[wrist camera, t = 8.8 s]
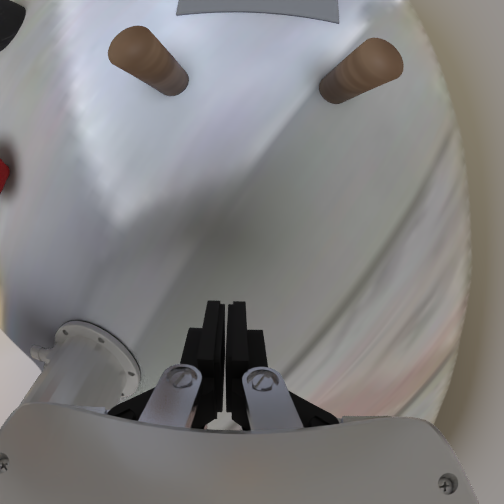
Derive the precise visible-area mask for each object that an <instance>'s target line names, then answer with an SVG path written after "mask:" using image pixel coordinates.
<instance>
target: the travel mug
mask: <svg viewBox="0 0 504 504" xmlns="http://www.w3.org/2000/svg"><path fill="white" fill-rule="evenodd" d="M24 17H25V8H24V7H22V6H21V5H19V4H17V3H14V2H12V1H10V0H0V51H1V50H3V49H4V48H5V47H6V46H7V45H8V44H9V43H10V42H11V40H12V39H13V38H14V36H15V35H16V33H17V32H18V30H19V28H20V26H21V24H22V22H23V20H24Z"/></svg>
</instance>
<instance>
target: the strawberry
mask: <svg viewBox="0 0 504 504" xmlns="http://www.w3.org/2000/svg"><path fill="white" fill-rule="evenodd" d="M9 173H10V170H9V167H8V166H7V165H6V164H5V163H4V162H3V161H2V160H1V159H0V193H1V191H2V190H3V187H4V185H5V182H6V180H7V178H8V177H9Z"/></svg>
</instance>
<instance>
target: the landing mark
mask: <svg viewBox="0 0 504 504" xmlns="http://www.w3.org/2000/svg"><path fill="white" fill-rule="evenodd" d="M214 12H254V13H271V14H282V15H291V16H299V17H306V18H312V19H318V20H323V21H328V22H333V23H338V24H339V10H338V0H179V1H178V7H177V12H176V15H186V14H197V13H214Z"/></svg>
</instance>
